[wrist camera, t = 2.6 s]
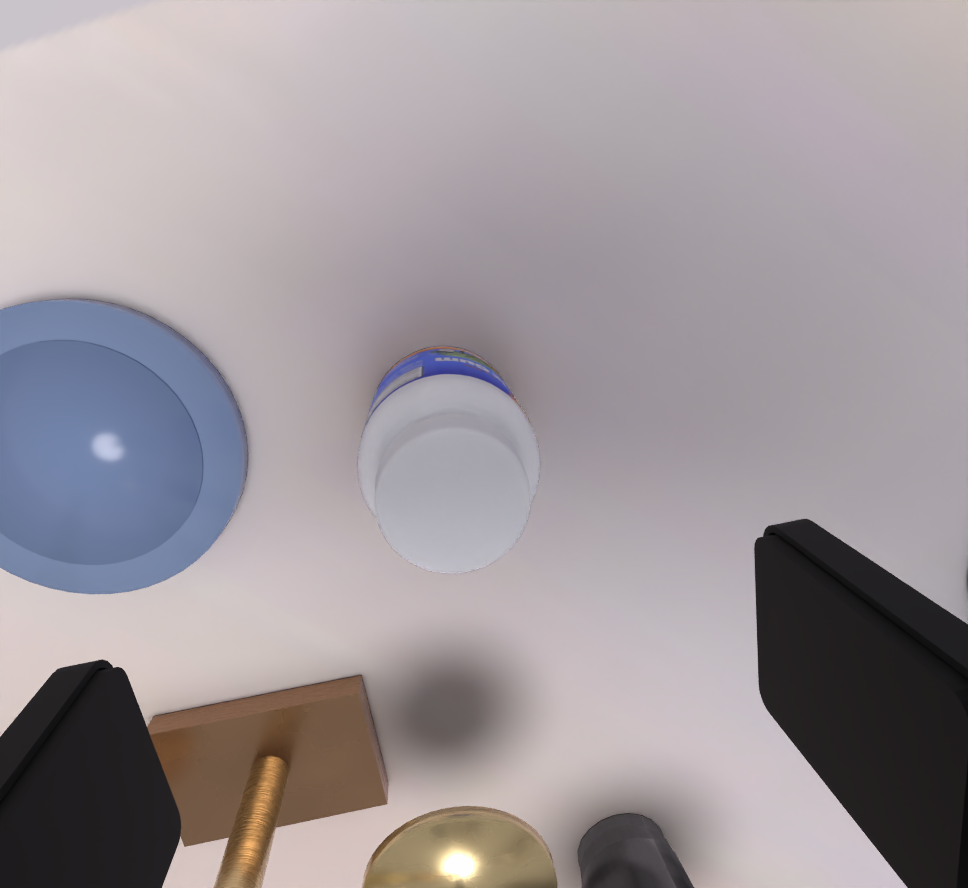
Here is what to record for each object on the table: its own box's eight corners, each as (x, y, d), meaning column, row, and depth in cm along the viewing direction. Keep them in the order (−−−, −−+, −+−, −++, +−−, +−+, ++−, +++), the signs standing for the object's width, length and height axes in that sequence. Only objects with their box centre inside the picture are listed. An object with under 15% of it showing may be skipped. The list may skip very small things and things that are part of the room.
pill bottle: (537, 404, 26) (607, 489, 17) (449, 503, 27) (468, 637, 17) (432, 313, 24) (445, 351, 15) (342, 420, 25) (302, 518, 16)
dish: (202, 275, 23) (190, 276, 22) (278, 550, 26) (272, 566, 25) (-116, 327, 23) (-148, 331, 21) (2, 602, 26) (-20, 621, 25)
